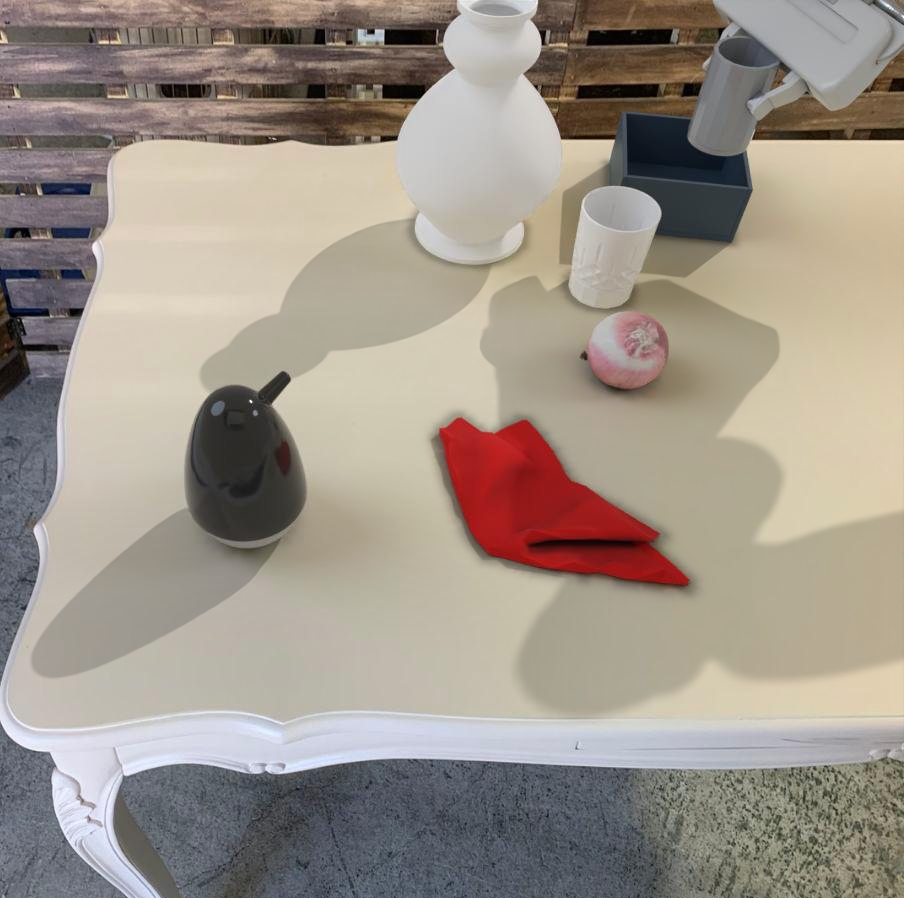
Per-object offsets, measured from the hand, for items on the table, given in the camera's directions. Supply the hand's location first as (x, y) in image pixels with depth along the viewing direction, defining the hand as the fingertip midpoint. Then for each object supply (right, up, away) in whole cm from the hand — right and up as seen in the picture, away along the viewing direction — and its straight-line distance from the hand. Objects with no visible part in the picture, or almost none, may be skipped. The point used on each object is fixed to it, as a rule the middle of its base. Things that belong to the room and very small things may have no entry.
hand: (728, 93), depth 90 cm
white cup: (-11, -18, +8) cm, 22 cm away
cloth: (-21, -43, -10) cm, 49 cm away
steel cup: (+1, -3, +4) cm, 5 cm away
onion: (-11, -28, 0) cm, 30 cm away
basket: (0, -4, +17) cm, 18 cm away
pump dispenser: (-47, -43, -11) cm, 64 cm away
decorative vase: (-25, -9, +14) cm, 30 cm away
